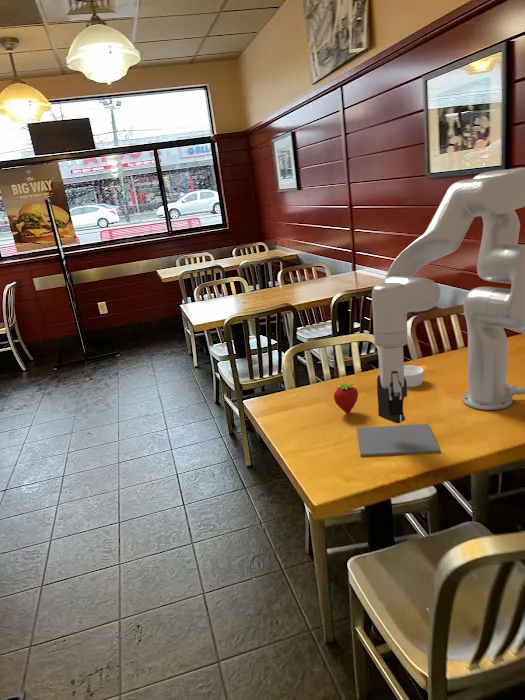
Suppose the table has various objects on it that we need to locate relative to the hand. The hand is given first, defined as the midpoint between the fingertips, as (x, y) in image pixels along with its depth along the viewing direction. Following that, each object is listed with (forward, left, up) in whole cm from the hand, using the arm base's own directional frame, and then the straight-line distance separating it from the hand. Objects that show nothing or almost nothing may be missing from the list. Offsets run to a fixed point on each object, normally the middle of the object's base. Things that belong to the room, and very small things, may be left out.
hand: (393, 408), depth 125 cm
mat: (0, 0, -9) cm, 9 cm away
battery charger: (0, 0, -3) cm, 3 cm away
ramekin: (-9, -38, -9) cm, 40 cm away
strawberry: (+11, -18, -9) cm, 23 cm away
